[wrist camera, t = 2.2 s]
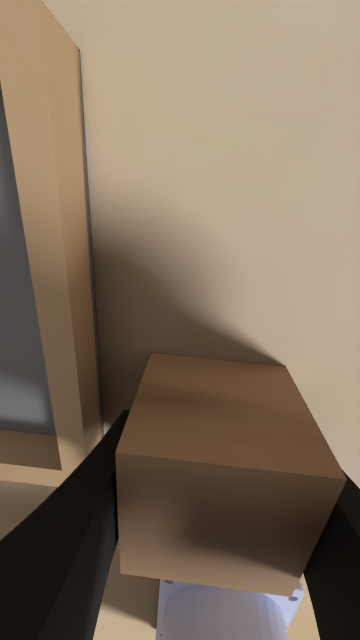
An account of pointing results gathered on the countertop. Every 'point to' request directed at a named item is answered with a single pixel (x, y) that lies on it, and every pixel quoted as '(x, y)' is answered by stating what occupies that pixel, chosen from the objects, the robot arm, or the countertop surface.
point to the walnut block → (222, 476)
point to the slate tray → (44, 254)
